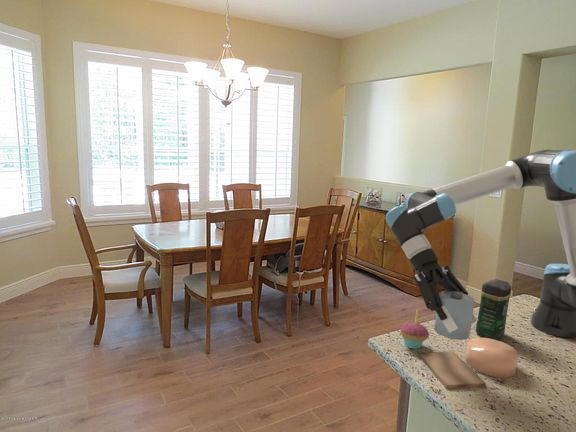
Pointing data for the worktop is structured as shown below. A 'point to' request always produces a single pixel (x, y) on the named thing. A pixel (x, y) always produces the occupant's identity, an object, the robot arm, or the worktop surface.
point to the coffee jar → (493, 309)
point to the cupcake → (414, 333)
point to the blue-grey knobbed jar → (456, 314)
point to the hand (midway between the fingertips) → (464, 326)
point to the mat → (451, 370)
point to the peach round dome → (491, 357)
